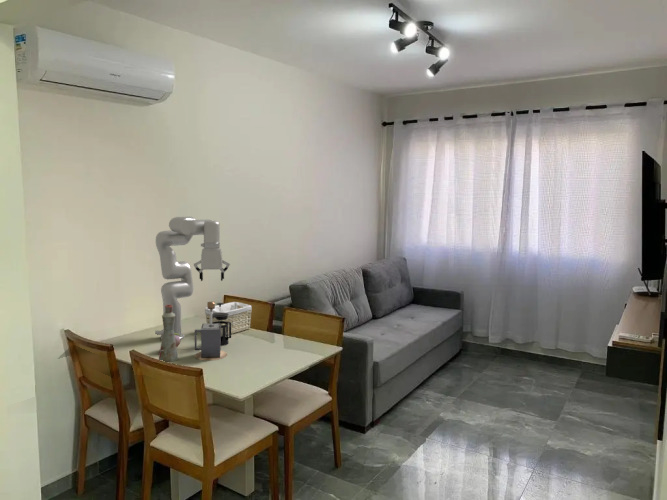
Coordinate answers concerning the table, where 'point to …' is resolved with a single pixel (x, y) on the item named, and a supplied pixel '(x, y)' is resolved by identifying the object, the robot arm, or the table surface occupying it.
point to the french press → (225, 327)
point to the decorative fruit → (177, 339)
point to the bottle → (168, 337)
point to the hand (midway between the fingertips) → (211, 280)
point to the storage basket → (233, 316)
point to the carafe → (209, 340)
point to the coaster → (222, 355)
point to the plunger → (210, 306)
